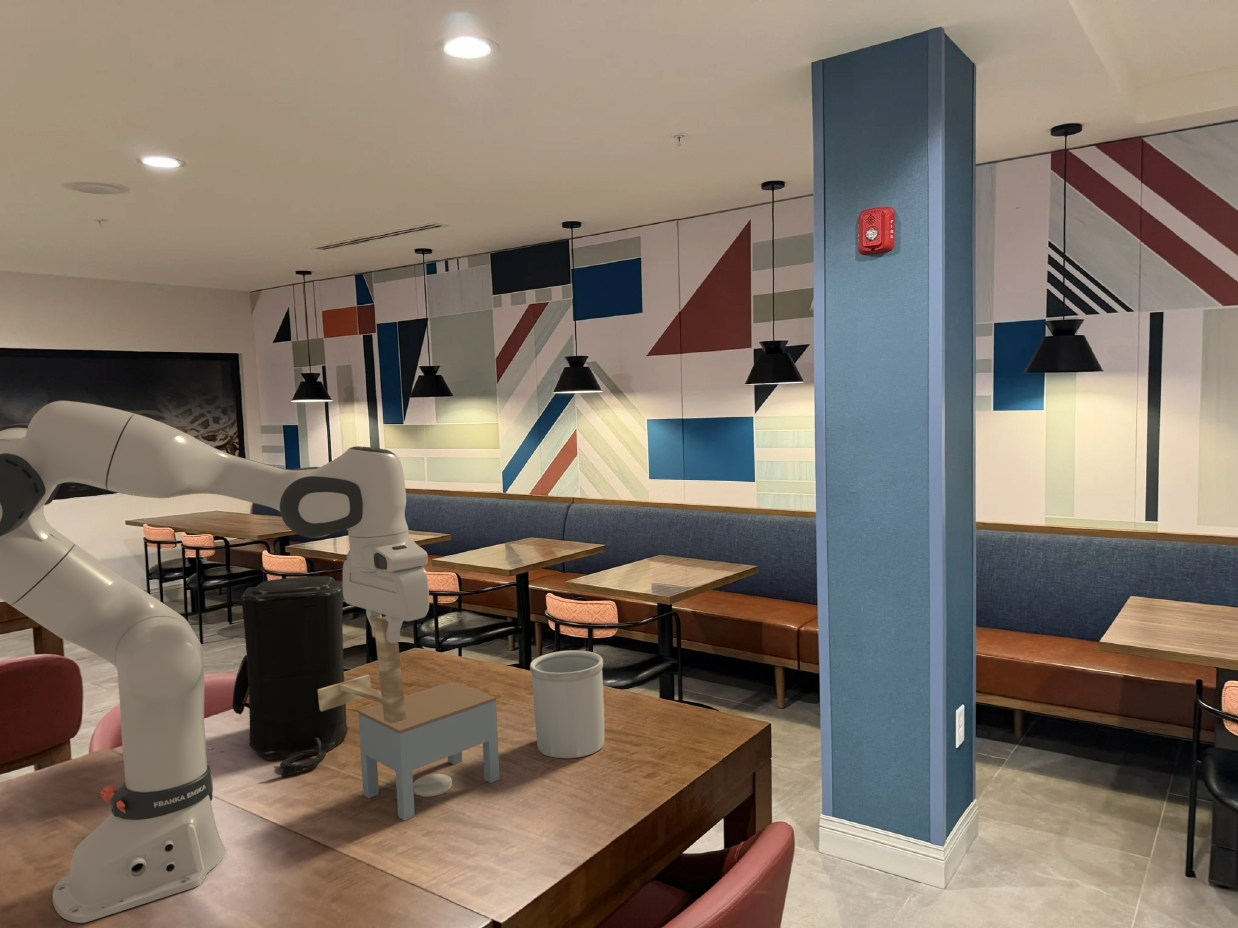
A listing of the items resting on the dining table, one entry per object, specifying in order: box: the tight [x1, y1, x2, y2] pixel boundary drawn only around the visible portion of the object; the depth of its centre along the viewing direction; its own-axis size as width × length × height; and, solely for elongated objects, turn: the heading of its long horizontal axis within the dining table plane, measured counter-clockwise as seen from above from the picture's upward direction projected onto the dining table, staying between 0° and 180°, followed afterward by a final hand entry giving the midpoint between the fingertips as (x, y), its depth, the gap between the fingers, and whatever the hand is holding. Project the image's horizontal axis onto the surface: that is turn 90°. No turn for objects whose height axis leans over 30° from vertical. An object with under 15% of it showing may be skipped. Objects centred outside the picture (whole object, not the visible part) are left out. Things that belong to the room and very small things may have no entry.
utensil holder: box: [529, 650, 605, 759], centre depth 165 cm, size 15×15×18 cm
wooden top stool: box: [358, 681, 501, 821], centre depth 149 cm, size 20×14×16 cm
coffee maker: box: [231, 575, 349, 778], centre depth 172 cm, size 23×32×34 cm
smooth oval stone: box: [413, 773, 453, 797], centre depth 149 cm, size 7×7×1 cm
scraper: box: [318, 615, 406, 724], centre depth 132 cm, size 9×18×16 cm, turn 46°
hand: (386, 639), depth 126 cm, fingers closed on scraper, 2 cm apart
